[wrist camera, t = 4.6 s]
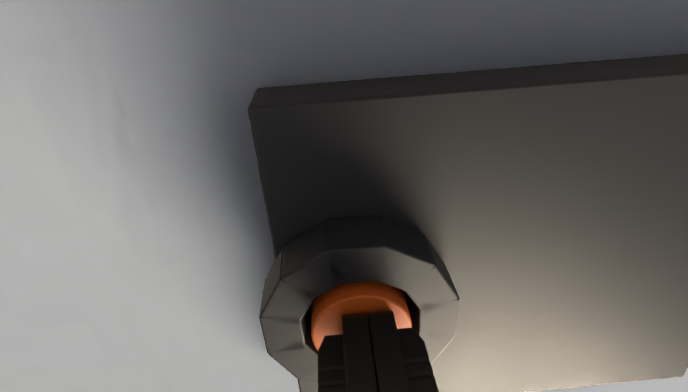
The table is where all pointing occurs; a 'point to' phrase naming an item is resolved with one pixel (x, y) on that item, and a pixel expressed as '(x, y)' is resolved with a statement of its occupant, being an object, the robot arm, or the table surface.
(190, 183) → the table surface
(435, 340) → the scale
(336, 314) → the button
